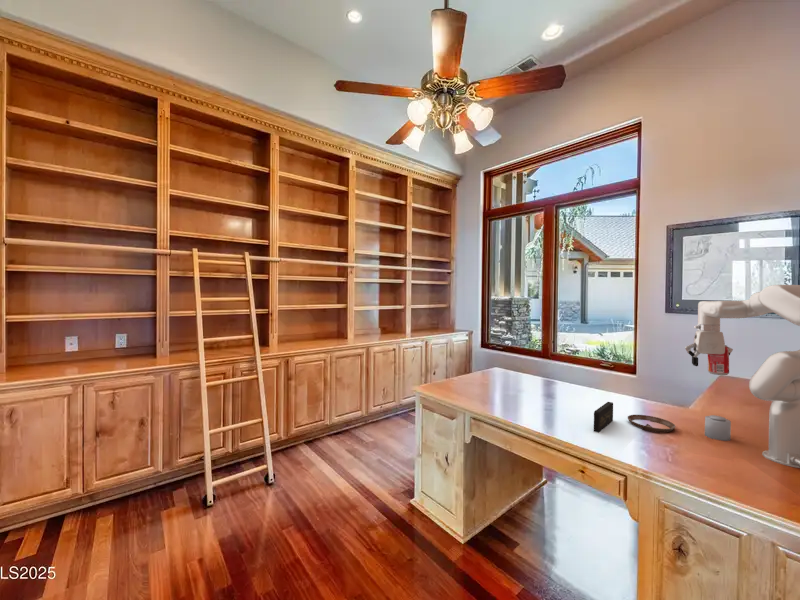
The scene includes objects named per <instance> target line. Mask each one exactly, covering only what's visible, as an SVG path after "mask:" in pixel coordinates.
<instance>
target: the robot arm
mask: <svg viewBox="0 0 800 600" xmlns="http://www.w3.org/2000/svg"><path fill="white" fill-rule="evenodd" d="M697 303H698V304H697V324H696V325H694V326H693V327H694V329H696V331H695V334H694V338H693V343H691V344H688V345H686V346H685V347H684V348H685V350H686V352H687V354H689V356H690V357H691V364H692V366H694V367H699V357H698V356H700V354H702V355H708V354H724V353H725V345H726V344H725V342H726V341H725V336H724V333H723V332H722V331H721V319H745V318H753V317H760V316H763V315H766V314H771V313H774V314H775V315H777V316H780V318H783V319H784V320H786V321H788V322H790V323H792V324H794V325H796V326H798V327H800V284H771V285H769V286H768V285H767V286H765V287H764V288H763V289H761V290H760V291H757V292H755V293H752V294H751V295H750V297H749V299H743V300H713V301H712V300H702V301H701V300H700V301H699V302H697ZM727 347H728V349H729V356H730V355H731V354H732V352H733V350H734V349H733V348H731V347H730V346H727ZM692 348H693V351H692ZM750 377H751V378H750V379H749V382H748V388H749V391H750V393H751V394H752V395H753V396H754V397H755V398H756V399H758V400H762V401H766V402H767V401H768V402H771V404H770V406H769V415H768V419H769V420H768V450H763V451H762V456H763V458H765V459H766V460H770V461H772V462H774V463H776V464H780V465H784V466H788V467H791V468H796V469H800V349H798V350H793V351H791V350H789V351H787V350H785V351H778V352H775V353H772V354H771V355H769V356H768V357H767V358H766V359H765V360H764V361H763V363H762V364H760V366H759V367H758V369H756V371H755V372H754V374H753V375H752V376H750Z"/></svg>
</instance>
